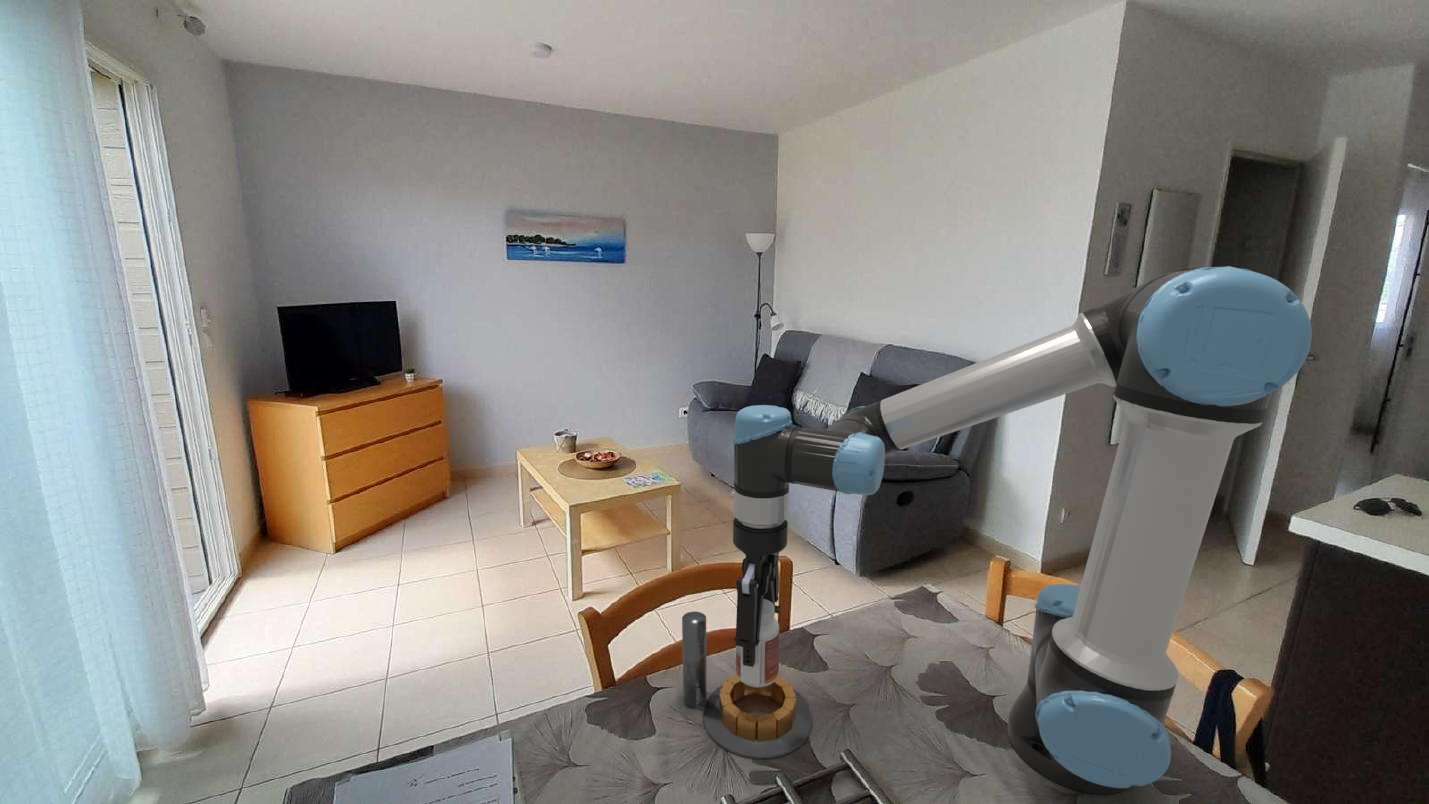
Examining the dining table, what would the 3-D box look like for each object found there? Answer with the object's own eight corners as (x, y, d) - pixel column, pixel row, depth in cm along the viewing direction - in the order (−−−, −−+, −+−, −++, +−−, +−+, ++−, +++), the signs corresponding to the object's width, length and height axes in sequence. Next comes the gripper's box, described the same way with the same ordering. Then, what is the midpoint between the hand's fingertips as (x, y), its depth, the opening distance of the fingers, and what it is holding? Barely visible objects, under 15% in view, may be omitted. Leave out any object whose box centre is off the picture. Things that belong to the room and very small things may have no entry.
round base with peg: (821, 694, 92) (824, 613, 90) (798, 773, 78) (801, 679, 75) (703, 666, 99) (702, 590, 96) (662, 733, 85) (660, 646, 82)
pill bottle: (770, 659, 90) (772, 592, 88) (784, 685, 84) (786, 615, 82) (731, 664, 89) (731, 597, 87) (741, 692, 83) (743, 620, 81)
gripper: (754, 491, 92) (751, 626, 96) (710, 542, 74) (709, 703, 79) (802, 497, 89) (797, 635, 94) (768, 552, 71) (764, 718, 76)
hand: (757, 666), depth 86 cm, fingers closed on pill bottle, 6 cm apart
